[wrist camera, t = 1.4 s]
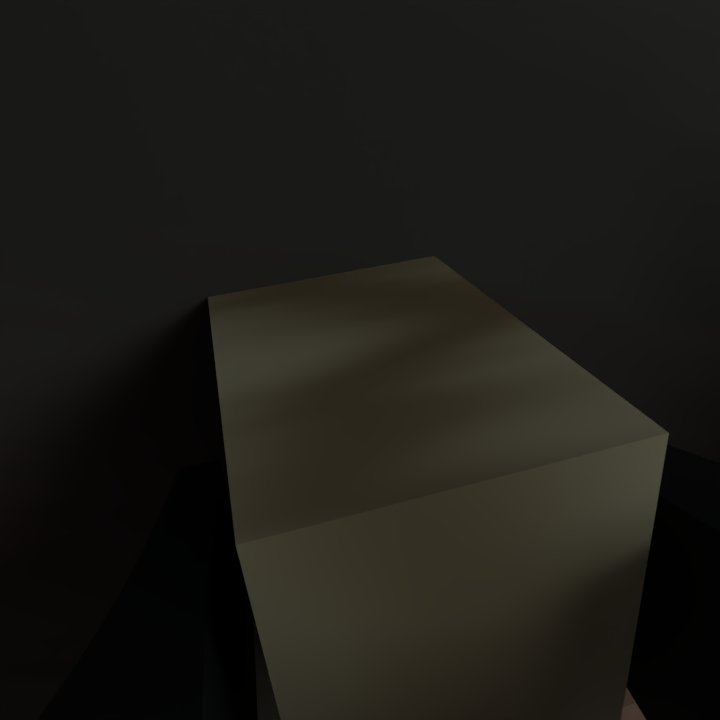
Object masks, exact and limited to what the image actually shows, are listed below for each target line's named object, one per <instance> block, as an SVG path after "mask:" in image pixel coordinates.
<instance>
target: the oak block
mask: <svg viewBox="0 0 720 720" xmlns="http://www.w3.org/2000/svg"><path fill="white" fill-rule="evenodd" d="M208 304H209V313H210V322H211V331H212V340H213V349H214V357H215V366H216V375H217V384H218V393H219V402H220V411H221V420H222V429H223V437H224V446H225V455H226V464H227V473H228V482H229V491H230V500H231V508H232V517H233V526H234V535H235V544H236V549H237V553H238V556H239V560H240V564H241V568H242V572H243V576H244V580H245V583H246V587H247V591H248V595H249V599H250V603H251V607H252V611H253V614H254V618H255V622H256V626H257V630H258V634H259V638H260V641H261V645H262V649H263V653H264V657H265V661H266V665H267V669H268V672H269V676H270V680H271V684H272V688H273V692H274V696H275V699H276V703H277V707H278V711H279V715H280V719H281V720H621V716H622V711H623V705H624V699H625V693H626V687H627V681H628V675H629V669H630V663H631V657H632V651H633V645H634V639H635V633H636V627H637V621H638V615H639V609H640V603H641V597H642V591H643V585H644V579H645V573H646V567H647V561H648V555H649V549H650V543H651V537H652V531H653V525H654V519H655V513H656V507H657V501H658V495H659V489H660V484H661V478H662V472H663V466H664V460H665V454H666V448H667V442H668V436H669V433H668V432H667V431H666V430H664V429H663V428H662V427H660V426H659V425H658V424H656V423H655V422H654V421H652V420H651V419H650V418H648V417H647V416H646V415H644V414H643V413H642V412H640V411H639V410H638V409H636V408H635V407H634V406H632V405H631V404H630V403H629V402H627V401H626V400H625V399H623V398H622V397H621V396H619V395H618V394H617V393H615V392H614V391H613V390H611V389H610V388H609V387H607V386H606V385H605V384H603V383H602V382H601V381H599V380H598V379H597V378H595V377H594V376H593V375H591V374H590V373H589V372H587V371H586V370H585V369H583V368H582V367H581V366H579V365H578V364H577V363H575V362H574V361H573V360H571V359H570V358H569V357H567V356H566V355H565V354H563V353H562V352H561V351H559V350H558V349H557V348H555V347H554V346H553V345H552V344H550V343H549V342H548V341H546V340H545V339H544V338H542V337H541V336H540V335H538V334H537V333H536V332H534V331H533V330H532V329H530V328H529V327H528V326H526V325H525V324H524V323H522V322H521V321H520V320H518V319H517V318H516V317H514V316H513V315H512V314H510V313H509V312H508V311H506V310H505V309H504V308H502V307H501V306H500V305H498V304H497V303H496V302H494V301H493V300H492V299H490V298H489V297H488V296H486V295H485V294H484V293H482V292H481V291H480V290H479V289H477V288H476V287H475V286H473V285H472V284H471V283H469V282H468V281H467V280H465V279H464V278H463V277H461V276H460V275H459V274H457V273H456V272H455V271H453V270H452V269H451V268H449V267H448V266H447V265H445V264H444V263H443V262H441V261H440V260H439V259H437V258H436V257H435V256H432V257H427V258H421V259H416V260H410V261H405V262H399V263H394V264H388V265H383V266H377V267H372V268H366V269H361V270H355V271H350V272H344V273H339V274H333V275H327V276H322V277H316V278H311V279H305V280H300V281H294V282H289V283H283V284H278V285H272V286H267V287H261V288H256V289H250V290H245V291H239V292H234V293H228V294H223V295H217V296H212V297H208Z"/></svg>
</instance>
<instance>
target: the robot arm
mask: <svg viewBox="0 0 720 720" xmlns="http://www.w3.org/2000/svg"><path fill="white" fill-rule="evenodd" d="M627 689H628V690H629V692H630V694H631V695H632V697H633V699H634V700H635V702H636V704H637V705H638V707H639V709H640V710H641V712H642V714H643V715H644V717H645V719H646V720H720V463H717V462H714V461H711V460H708V459H705V458H702V457H700V456H697V455H694V454H691V453H688V452H686V451H683V450H680V449H677V448H674V447H672V446H669V445H667V448H666V454H665V460H664V466H663V472H662V478H661V484H660V489H659V495H658V501H657V507H656V513H655V519H654V525H653V531H652V537H651V543H650V549H649V555H648V561H647V567H646V573H645V579H644V585H643V591H642V597H641V603H640V609H639V615H638V621H637V627H636V633H635V639H634V645H633V651H632V657H631V663H630V669H629V675H628V681H627ZM37 720H258V718H257V695H256V672H255V650H254V628H253V611H252V607H251V603H250V599H249V595H248V591H247V587H246V583H245V580H244V576H243V572H242V568H241V564H240V560H239V556H238V553H237V549H236V544H235V535H234V526H233V517H232V508H231V502H230V498H229V494H228V490H227V486H226V482H225V478H224V474H223V470H222V466H221V462H220V460H215V461H211V462H207V463H202V464H198V465H194V466H189V467H185V468H181V469H180V471H179V472H178V473H177V475H176V476H175V478H174V481H173V484H172V487H171V489H170V492H169V494H168V497H167V499H166V502H165V504H164V506H163V509H162V511H161V513H160V515H159V518H158V520H157V522H156V524H155V527H154V529H153V531H152V533H151V535H150V537H149V539H148V541H147V543H146V545H145V547H144V549H143V551H142V553H141V555H140V557H139V559H138V561H137V563H136V565H135V567H134V569H133V571H132V573H131V575H130V577H129V578H128V580H127V582H126V584H125V585H124V587H123V589H122V591H121V592H120V594H119V596H118V598H117V599H116V601H115V603H114V605H113V606H112V608H111V610H110V612H109V613H108V615H107V617H106V619H105V620H104V622H103V624H102V625H101V627H100V629H99V630H98V632H97V633H96V635H95V637H94V638H93V640H92V641H91V643H90V644H89V646H88V648H87V649H86V651H85V652H84V654H83V655H82V657H81V658H80V660H79V661H78V663H77V664H76V666H75V667H74V669H73V670H72V672H71V673H70V675H69V676H68V677H67V679H66V680H65V682H64V683H63V685H62V686H61V688H60V689H59V691H58V692H57V693H56V695H55V696H54V698H53V699H52V700H51V702H50V703H49V704H48V706H47V707H46V708H45V710H44V711H43V712H42V714H41V715H40V716H39V718H38V719H37Z"/></svg>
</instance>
